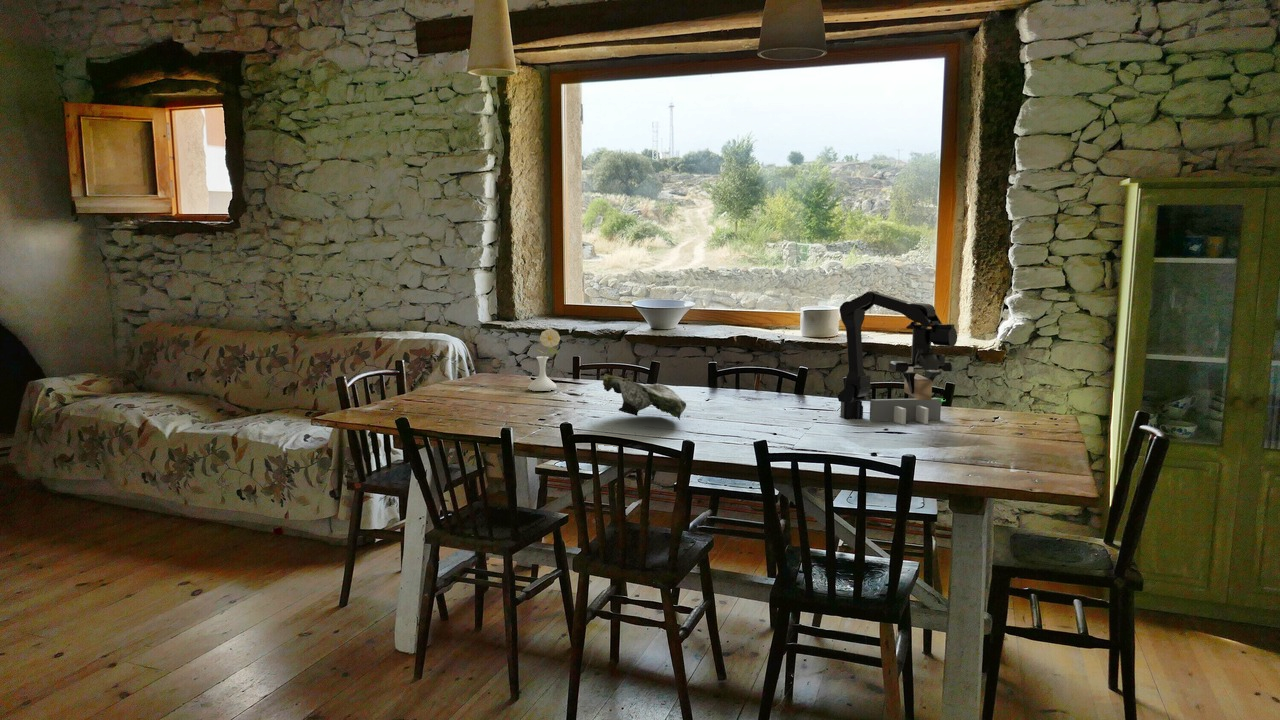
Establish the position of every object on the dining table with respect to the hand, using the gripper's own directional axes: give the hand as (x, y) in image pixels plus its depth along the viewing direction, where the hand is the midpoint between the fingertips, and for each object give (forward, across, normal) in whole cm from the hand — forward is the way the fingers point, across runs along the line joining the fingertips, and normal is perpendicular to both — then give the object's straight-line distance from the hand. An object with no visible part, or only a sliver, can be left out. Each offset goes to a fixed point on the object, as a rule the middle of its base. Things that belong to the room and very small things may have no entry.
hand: (919, 393), depth 273 cm
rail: (+1, 0, +2) cm, 2 cm away
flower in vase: (+11, -115, +86) cm, 144 cm away
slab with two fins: (+11, +2, +10) cm, 15 cm away
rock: (+10, -87, +22) cm, 90 cm away
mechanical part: (+11, +25, +41) cm, 50 cm away
